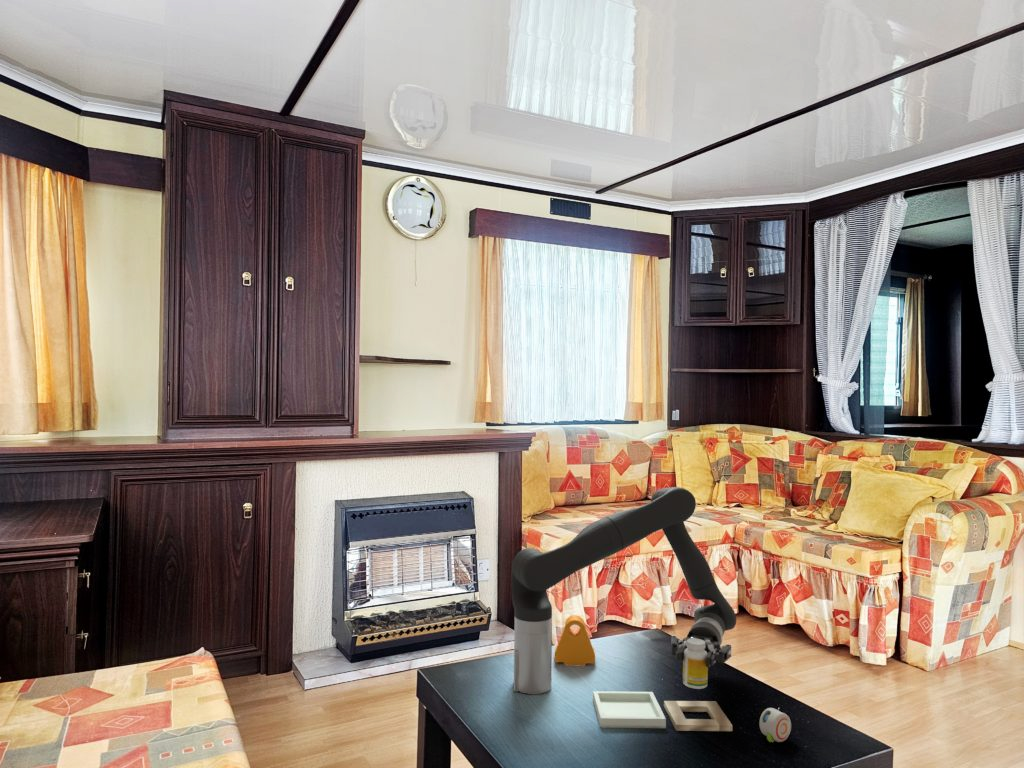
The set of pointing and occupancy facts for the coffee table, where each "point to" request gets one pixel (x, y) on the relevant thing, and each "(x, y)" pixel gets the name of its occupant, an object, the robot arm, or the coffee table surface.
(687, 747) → the coffee table surface
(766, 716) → the roller toy
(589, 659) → the bracket
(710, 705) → the holder board
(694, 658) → the supplement bottle
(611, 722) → the tray
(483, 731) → the coffee table surface
